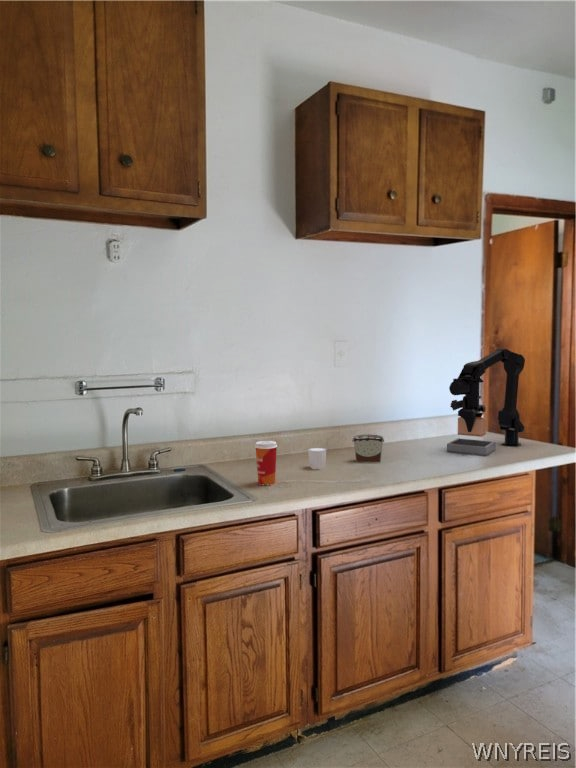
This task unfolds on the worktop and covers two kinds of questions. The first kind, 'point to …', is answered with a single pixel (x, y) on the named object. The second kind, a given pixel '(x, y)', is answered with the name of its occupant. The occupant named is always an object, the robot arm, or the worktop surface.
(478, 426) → the box
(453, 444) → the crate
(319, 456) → the white ribbed cup
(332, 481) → the worktop surface
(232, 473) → the worktop surface
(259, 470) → the paper cup
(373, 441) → the food container
